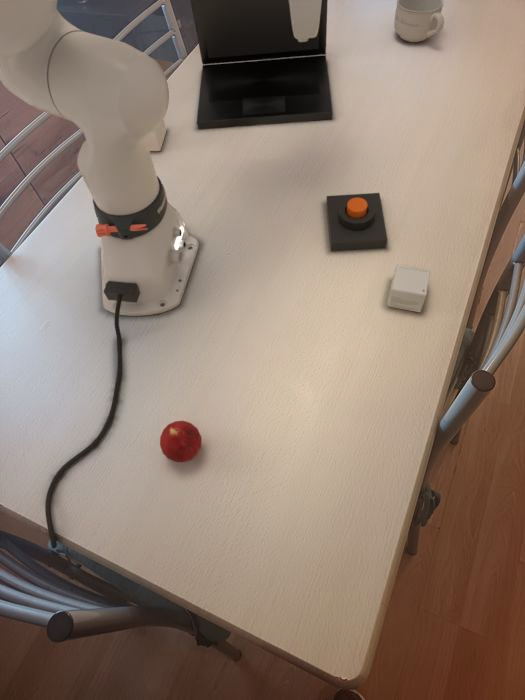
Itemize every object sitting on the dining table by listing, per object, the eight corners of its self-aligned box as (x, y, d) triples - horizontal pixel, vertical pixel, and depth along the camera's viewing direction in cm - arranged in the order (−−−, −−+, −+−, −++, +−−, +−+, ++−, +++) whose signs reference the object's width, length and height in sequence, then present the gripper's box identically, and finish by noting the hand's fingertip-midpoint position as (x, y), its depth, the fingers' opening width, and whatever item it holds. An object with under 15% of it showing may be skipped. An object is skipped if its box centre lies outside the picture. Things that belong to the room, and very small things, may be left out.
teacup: (385, 30, 126) (389, -6, 119) (424, 19, 127) (431, -16, 120) (409, 58, 119) (415, 23, 112) (451, 47, 120) (459, 11, 113)
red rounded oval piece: (206, 430, 76) (195, 409, 69) (205, 467, 73) (194, 449, 66) (168, 432, 76) (154, 412, 69) (165, 470, 73) (150, 452, 66)
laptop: (332, 119, 110) (332, 111, 109) (198, 129, 112) (196, 121, 111) (325, 62, 121) (325, 54, 120) (203, 72, 123) (202, 64, 122)
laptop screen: (329, -54, 100) (329, -56, 101) (182, -40, 102) (182, -42, 103) (325, 54, 120) (325, 52, 120) (202, 65, 122) (202, 62, 122)
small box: (425, 286, 86) (431, 268, 81) (420, 313, 83) (426, 296, 79) (391, 280, 87) (396, 262, 83) (386, 307, 84) (390, 289, 80)
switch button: (367, 218, 90) (368, 211, 88) (347, 219, 90) (348, 212, 89) (365, 203, 92) (366, 196, 90) (345, 205, 92) (346, 197, 90)
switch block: (385, 248, 91) (388, 232, 87) (330, 251, 91) (331, 236, 88) (378, 201, 97) (380, 185, 93) (326, 204, 97) (326, 188, 94)
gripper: (278, -89, 78) (282, 7, 90) (282, -27, 68) (286, 73, 80) (318, -93, 78) (317, 4, 90) (329, -31, 68) (325, 69, 79)
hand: (302, 37), depth 85 cm, fingers closed
